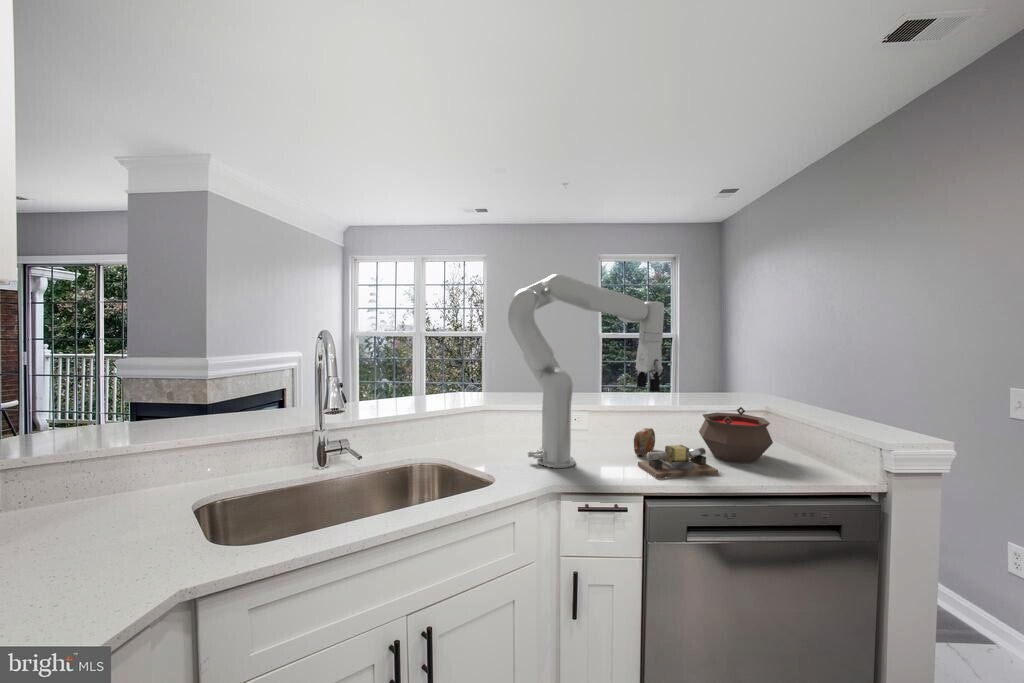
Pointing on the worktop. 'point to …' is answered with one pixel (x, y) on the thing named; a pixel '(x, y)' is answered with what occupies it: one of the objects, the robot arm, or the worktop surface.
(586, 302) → the robot arm
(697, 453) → the shaft
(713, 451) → the brown cooking pot
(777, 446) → the worktop surface
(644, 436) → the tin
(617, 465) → the worktop surface
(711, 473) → the rig
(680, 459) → the coupler
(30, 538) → the worktop surface
